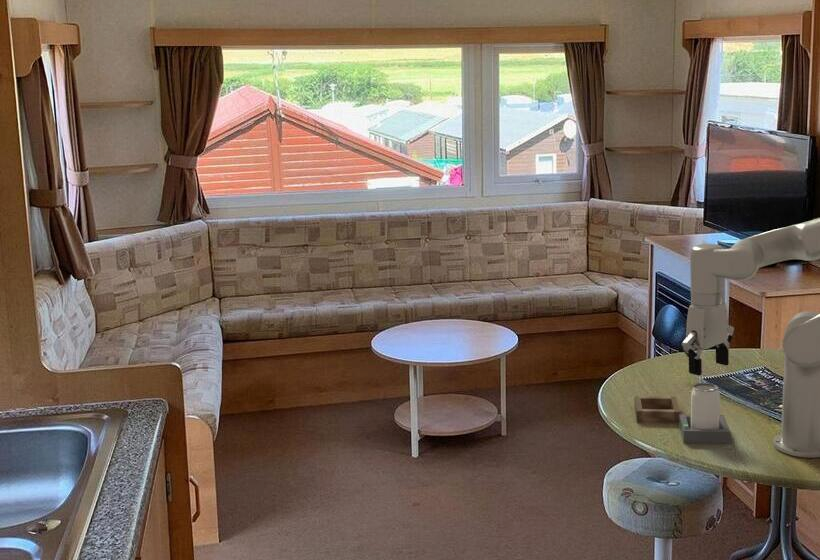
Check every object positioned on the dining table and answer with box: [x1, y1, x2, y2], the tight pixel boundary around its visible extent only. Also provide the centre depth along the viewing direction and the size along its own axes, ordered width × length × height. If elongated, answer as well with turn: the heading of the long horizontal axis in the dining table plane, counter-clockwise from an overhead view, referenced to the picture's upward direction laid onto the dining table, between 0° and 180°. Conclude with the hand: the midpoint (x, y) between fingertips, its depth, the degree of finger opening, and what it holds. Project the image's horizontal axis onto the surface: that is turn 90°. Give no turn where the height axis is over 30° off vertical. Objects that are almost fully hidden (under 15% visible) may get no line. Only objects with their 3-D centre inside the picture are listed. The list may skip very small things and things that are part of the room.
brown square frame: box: [633, 395, 681, 424], centre depth 238 cm, size 10×10×3 cm
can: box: [690, 382, 721, 429], centre depth 224 cm, size 6×6×12 cm
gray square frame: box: [678, 413, 731, 445], centre depth 225 cm, size 10×10×4 cm
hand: (708, 369), depth 221 cm, fingers open, 9 cm apart
